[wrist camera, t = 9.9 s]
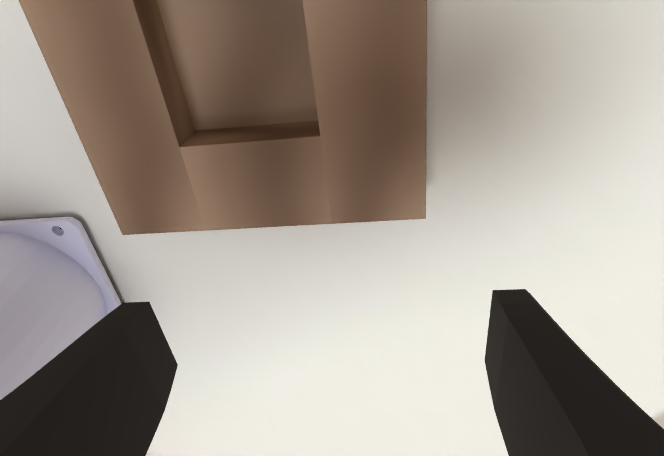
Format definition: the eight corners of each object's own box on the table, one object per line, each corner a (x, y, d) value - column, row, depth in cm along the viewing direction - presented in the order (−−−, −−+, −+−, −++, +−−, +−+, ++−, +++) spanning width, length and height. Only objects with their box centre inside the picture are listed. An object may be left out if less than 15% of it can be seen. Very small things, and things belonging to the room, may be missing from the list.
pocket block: (143, 209, 19) (122, 234, 18) (4, -141, 13) (-50, -153, 11) (420, 192, 18) (425, 218, 16) (419, -212, 12) (428, -237, 10)
